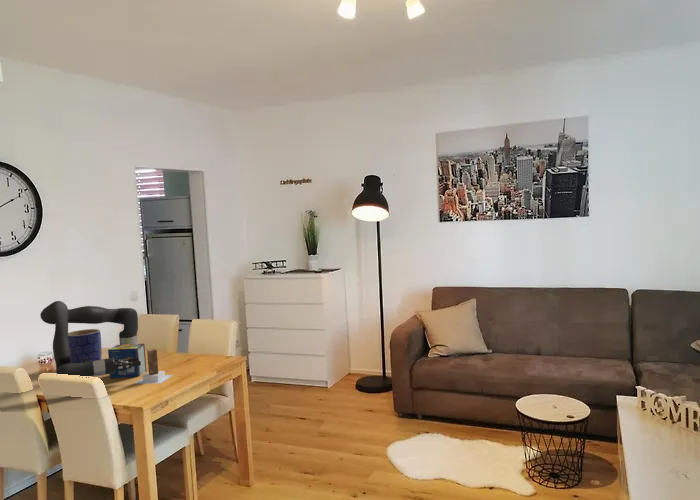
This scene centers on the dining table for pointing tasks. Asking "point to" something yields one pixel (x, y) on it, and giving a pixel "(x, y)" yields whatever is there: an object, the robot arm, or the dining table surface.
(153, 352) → the walnut column
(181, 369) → the dining table surface
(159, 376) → the plinth
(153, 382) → the blueprint mat
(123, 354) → the protein box
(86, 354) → the planter
